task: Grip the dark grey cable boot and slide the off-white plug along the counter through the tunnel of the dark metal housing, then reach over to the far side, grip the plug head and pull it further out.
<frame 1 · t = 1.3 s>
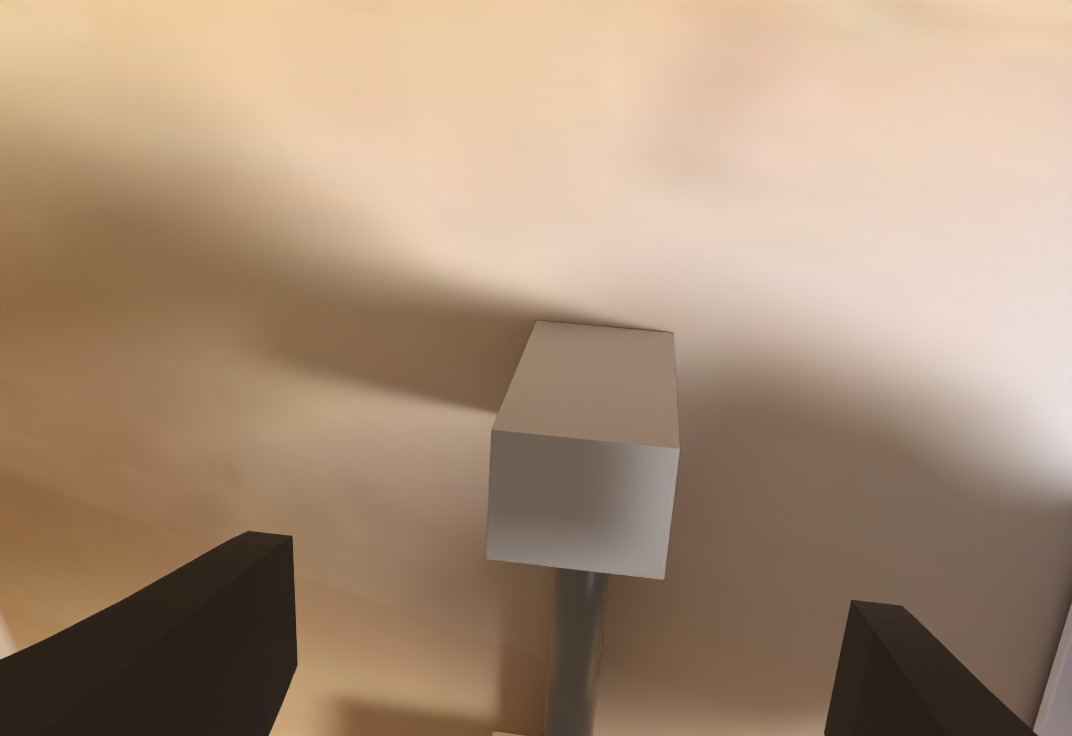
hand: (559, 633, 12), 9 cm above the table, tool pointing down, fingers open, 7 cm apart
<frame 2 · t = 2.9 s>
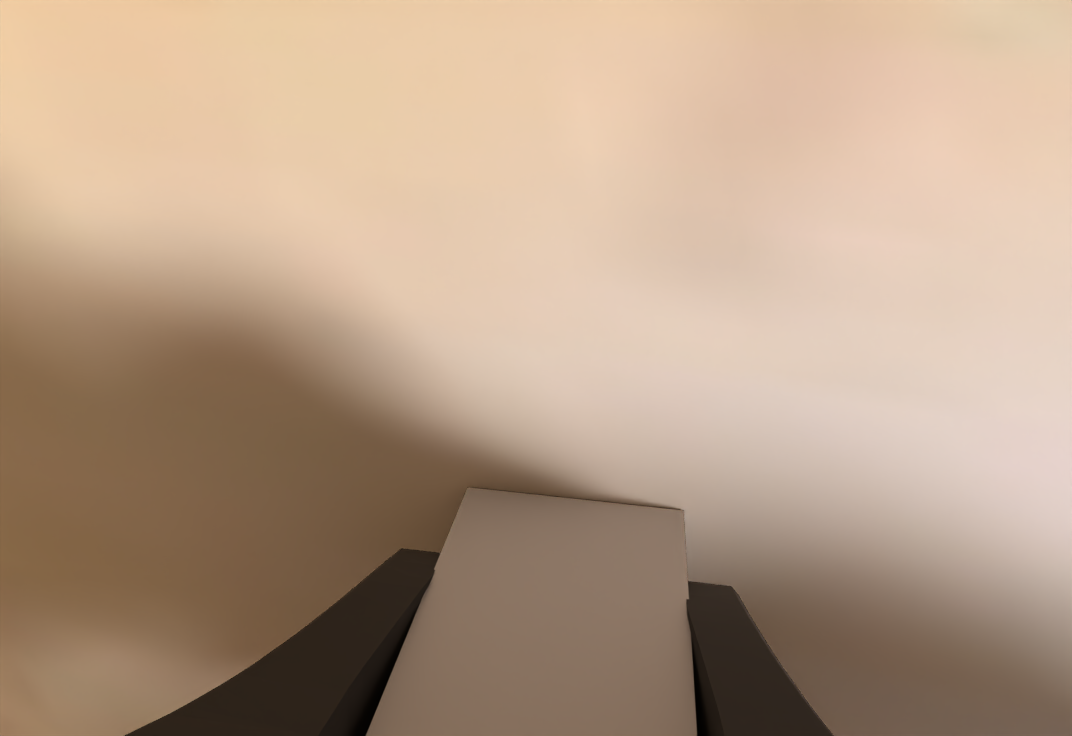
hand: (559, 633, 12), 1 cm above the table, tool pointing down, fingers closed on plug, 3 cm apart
when the fingers open (1 cm above the table, at t = 6.2 s): plug stays where it is, on the table.
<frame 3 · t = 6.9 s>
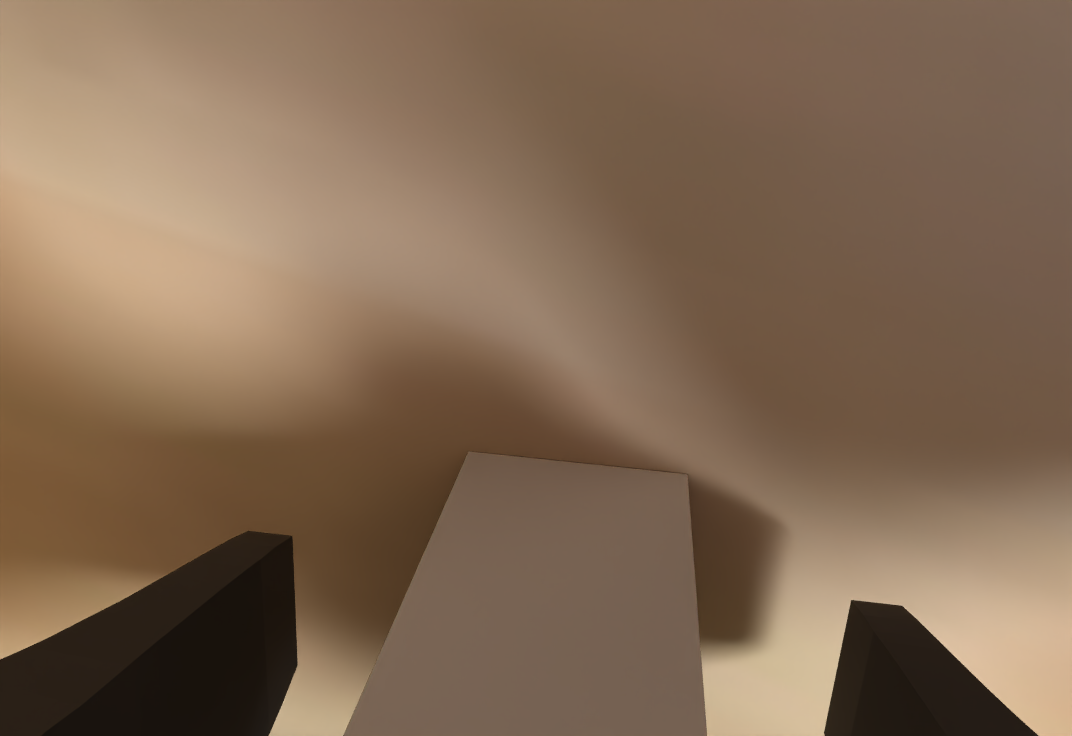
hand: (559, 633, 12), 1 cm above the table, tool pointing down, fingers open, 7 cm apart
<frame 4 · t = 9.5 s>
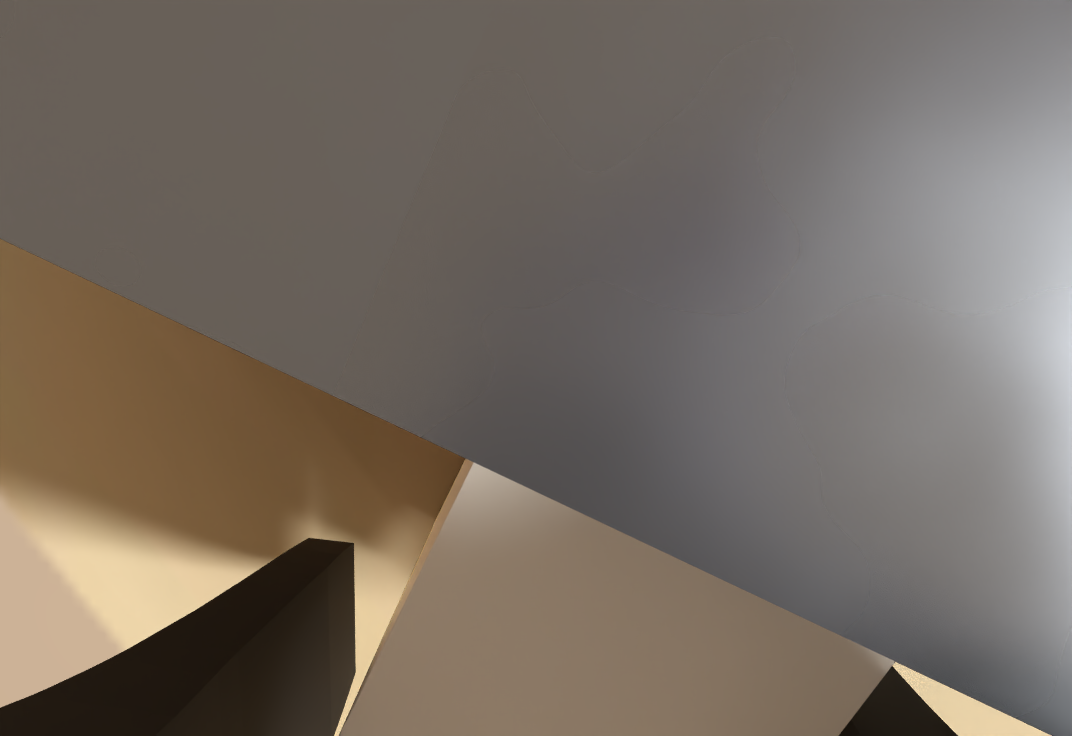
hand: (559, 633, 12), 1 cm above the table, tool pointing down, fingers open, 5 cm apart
plug: (624, 469, 13), on the table, touching gripper
housing: (810, 143, 11), on the table
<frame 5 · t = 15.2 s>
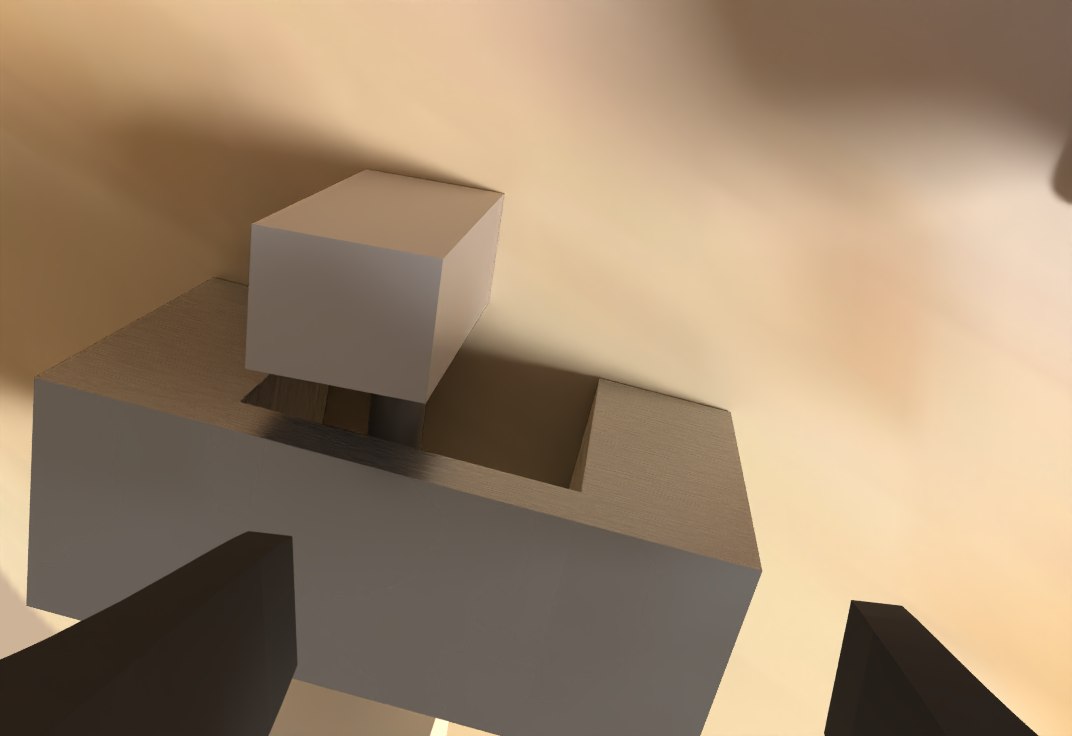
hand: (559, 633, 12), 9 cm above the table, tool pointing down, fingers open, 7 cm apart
plug: (377, 687, 24), on the table
housing: (450, 432, 22), on the table
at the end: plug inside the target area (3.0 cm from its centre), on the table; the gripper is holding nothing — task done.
